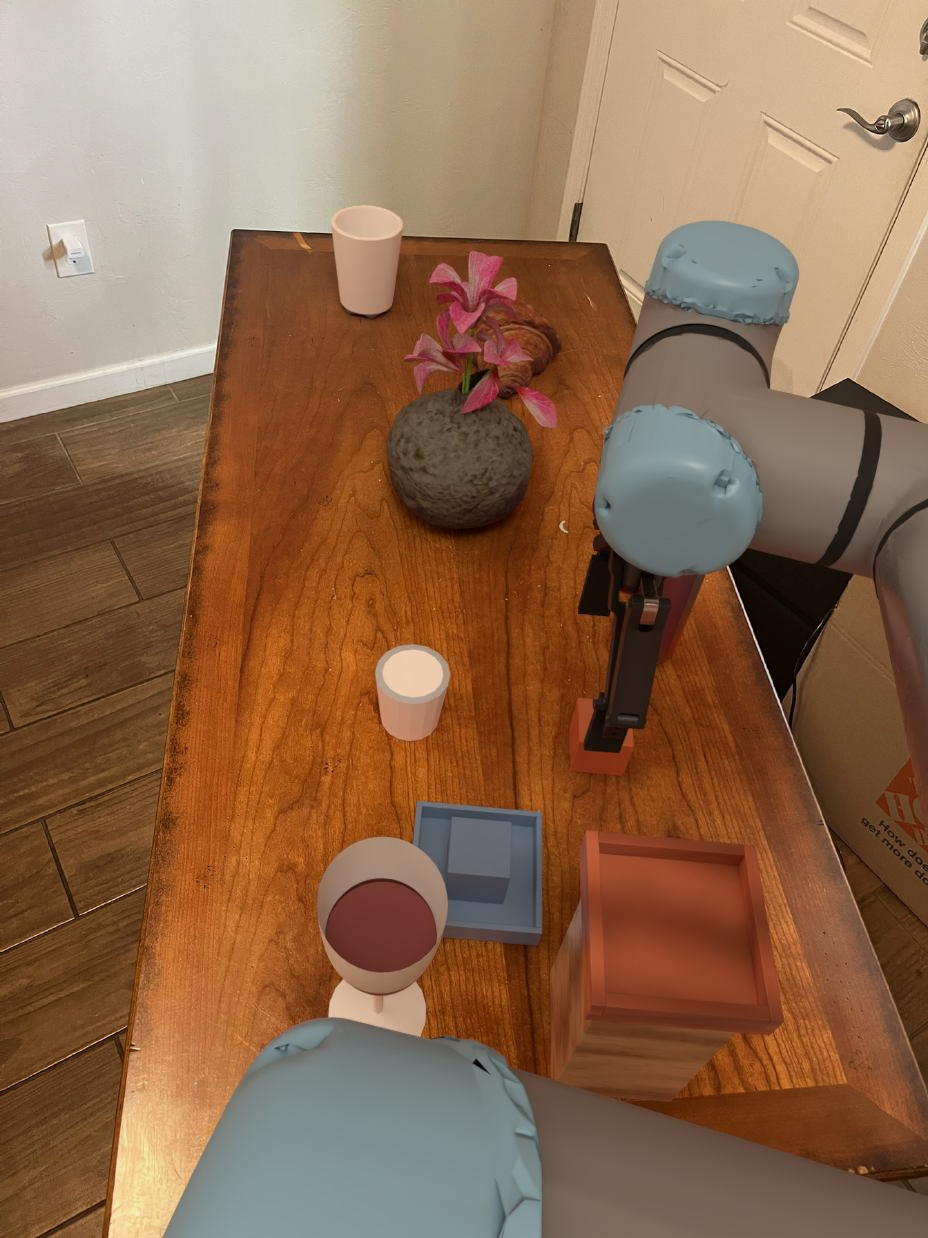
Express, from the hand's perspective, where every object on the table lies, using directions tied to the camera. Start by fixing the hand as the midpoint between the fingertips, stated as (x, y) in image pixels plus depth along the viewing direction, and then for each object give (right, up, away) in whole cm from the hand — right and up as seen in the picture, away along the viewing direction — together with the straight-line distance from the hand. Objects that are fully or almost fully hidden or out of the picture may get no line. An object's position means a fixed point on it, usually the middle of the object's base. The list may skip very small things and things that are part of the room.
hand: (597, 676), depth 76 cm
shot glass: (-16, -5, +15) cm, 23 cm away
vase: (-11, +18, +36) cm, 42 cm away
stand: (0, -28, -3) cm, 28 cm away
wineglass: (-17, -26, -3) cm, 31 cm away
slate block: (-10, -17, +4) cm, 20 cm away
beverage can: (+9, +2, +24) cm, 25 cm away
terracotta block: (+2, -8, +14) cm, 17 cm away
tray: (-10, -17, +5) cm, 21 cm away
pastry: (-5, +42, +57) cm, 71 cm away
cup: (-25, +50, +62) cm, 84 cm away
